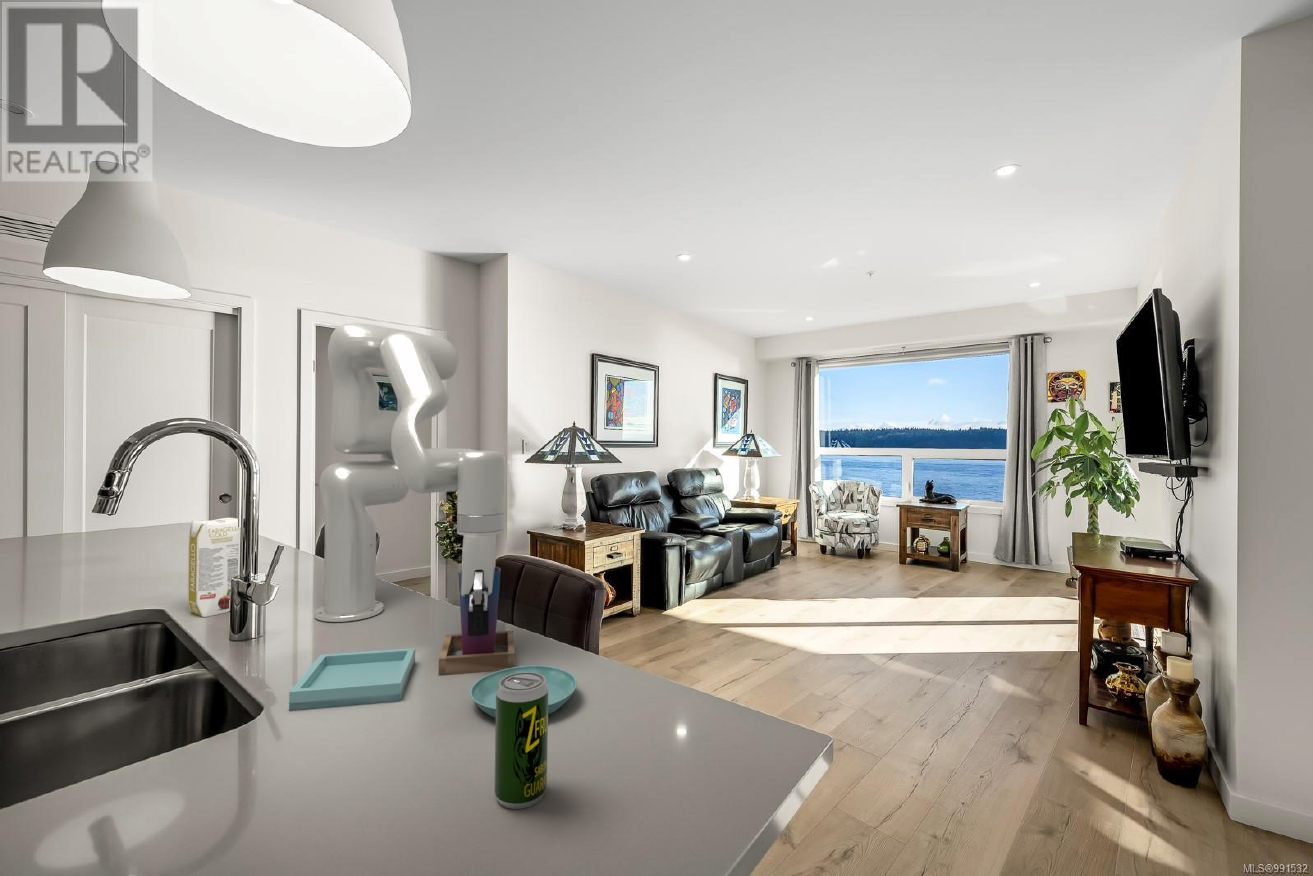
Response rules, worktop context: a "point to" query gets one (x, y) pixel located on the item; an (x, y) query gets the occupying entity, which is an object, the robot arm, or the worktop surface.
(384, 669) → the tray
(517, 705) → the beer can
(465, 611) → the cup
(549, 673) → the saucer
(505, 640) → the holder
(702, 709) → the worktop surface
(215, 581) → the juice carton
